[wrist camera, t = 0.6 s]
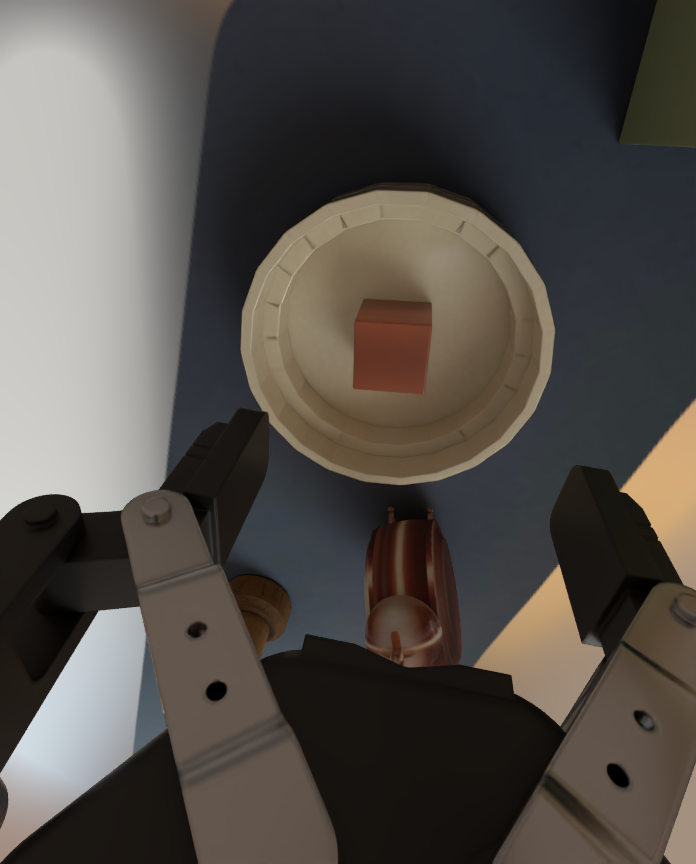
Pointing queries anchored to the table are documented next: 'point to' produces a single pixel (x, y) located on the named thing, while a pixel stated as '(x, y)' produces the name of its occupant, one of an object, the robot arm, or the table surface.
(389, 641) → the alarm clock
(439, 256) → the bowl
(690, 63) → the stand
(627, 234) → the table surface
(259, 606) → the mortar and pestle
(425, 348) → the block
